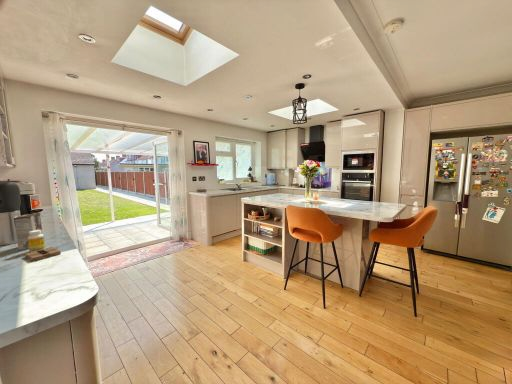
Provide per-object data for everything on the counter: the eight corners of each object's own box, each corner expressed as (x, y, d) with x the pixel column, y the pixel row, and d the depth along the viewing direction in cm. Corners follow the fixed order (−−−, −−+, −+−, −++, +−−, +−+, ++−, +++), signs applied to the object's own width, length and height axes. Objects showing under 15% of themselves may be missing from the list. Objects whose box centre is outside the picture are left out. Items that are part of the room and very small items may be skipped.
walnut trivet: (25, 256, 92) (24, 253, 91) (52, 250, 99) (51, 247, 99) (33, 261, 86) (32, 258, 86) (60, 254, 94) (60, 250, 93)
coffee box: (28, 244, 109) (24, 214, 108) (44, 242, 112) (40, 213, 110) (17, 249, 101) (12, 217, 99) (35, 247, 104) (30, 216, 102)
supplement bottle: (30, 250, 100) (28, 230, 99) (46, 247, 103) (44, 228, 102) (28, 253, 96) (25, 233, 95) (44, 250, 99) (42, 231, 98)
